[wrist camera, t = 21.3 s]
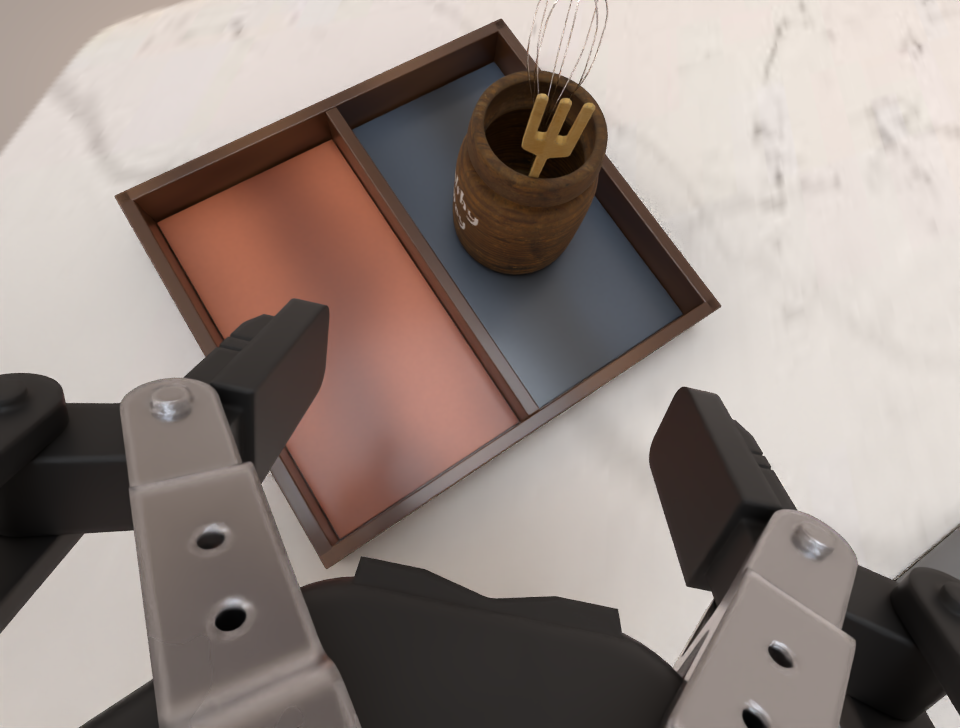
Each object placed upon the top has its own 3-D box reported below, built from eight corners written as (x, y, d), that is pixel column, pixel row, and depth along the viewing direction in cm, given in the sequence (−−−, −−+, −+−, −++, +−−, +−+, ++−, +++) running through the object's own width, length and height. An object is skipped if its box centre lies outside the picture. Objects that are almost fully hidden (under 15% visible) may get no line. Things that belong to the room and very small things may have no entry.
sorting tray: (337, 561, 22) (325, 570, 20) (145, 225, 25) (113, 195, 22) (694, 324, 26) (722, 306, 24) (495, 59, 29) (501, 17, 26)
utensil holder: (576, 180, 27) (690, -62, 15) (563, 295, 25) (679, 124, 13) (461, 159, 26) (486, -105, 15) (441, 274, 25) (451, 80, 13)
